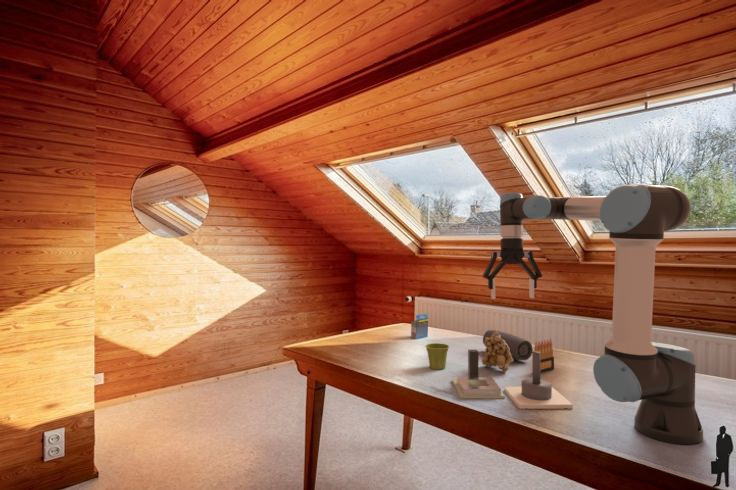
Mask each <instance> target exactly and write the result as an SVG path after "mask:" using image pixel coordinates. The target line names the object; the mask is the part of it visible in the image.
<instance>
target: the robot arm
mask: <svg viewBox="0 0 736 490" xmlns="http://www.w3.org/2000/svg"><path fill="white" fill-rule="evenodd" d="M499 201H500V202H499V212H500V213H499V215H500V217H499V219H500V237H501V238H500V252H497V251H492V252H491V257H490V259H489V261H488V264H487V266H486V268H485V270H484V272H483V274H482V278H483V279H486V280H487V284H488V285H487V288H488V290H490V299H493V300H496V298H497V297H496V296H497V295H496V280H495V278H496V276H497V275H498V273H500V271H501V270H502V269H503V268H504V266H506V265H519V266H520V267H521V268H522V269H523V270H524V271H525V273H526V274H527V275H528V276H529V277H530V278H529V279H528V288H529V289H528V295H529V296H528V298H530V299H535V289H537V286H538V285H537V281H538V279H539V278H542V277H543V274H542V272H541V269H540V268H539V267H538V266H539V265H538V264H537V262H536V260H535V259H534V253H533V251H530V250H527V251H524V239H523V238H522V237H523V236H524V226H523V225H524V224H523V223H524V221H526V220H563V221H565V220H566V221H573V220H574V221H593V222H594V221H597V222H598V221H599V222H601V223H602V224H603V227H604V228H605V229H606V230H607V231H609V233H608V234H609V235H608V236H609V238H608V239H609V240H610V241H611V242H612V243H613V244H614V245H615V251H614V252H615V254H614V255H615V256H614V278H613V301H612V302H613V303H612V322H611V323H612V324H611V338H610V339H608V340H606V341H605V343H604V352H603V353H604V354H602V355H600V356H599V357H598V358H597V359H596V360H594V363H593V368H592V369H593V371H592V372H593V376H594V379H595V382H596V384H597V385H598V387H599V388H600V391H602V392H603V394H605V395H606V396H607V397H608V398H609V399H611V400H613V401H614V402H618V403H635V402H638V401H640V402H639V404H638V408H637V410H636V413H635V415H634V423H633V424H634V428H635V429H636V430H637V431H638V432H639V433H640V434H642V435H645V436H646V437H649V438H652V439H654V440H658V441H661V442H665V443H670V444H674V445H675V444H676V445H697V444H700V443H702V442H703V441H704V428H703V427H702V424H701V423H702V422H701V420H700V417H699V415H698V412H697V410H696V367H697V364H696V357H695V356H696V355H695V353H694V351H693V350H691V349H688V348H685V347H682V346H677V345H674V344H669V343H662V342H654V341H652V331H653V327H652V326H653V309H654V291H655V289H654V288H655V271H656V270H655V269H656V267H655V266H656V248H657V246H659V245H660V243H662V242H663V241H664V239H665V232H669V231H672V230H675V229H677V228H679V227H681V226H682V225H683V224H684V223H685V222H686V221H687V219H688V218H689V216H690V213H691V203H690V200H689V198H688V196H687V195H686V193H684V192H683V191H682V190H680V189H679V188H678V187H677V188H676V187H674V186H670V185H657V184H656V185H653V184H652V185H651V184H642V183H640V184H639V183H637V184H636V183H634V184H623V185H619V186H615V188H613V189H611V190H610V191H609V193H608V194H606V195H602V196H601V195H600V196H599V195H598V196H595V195H594V196H562V197H561V196H558V197H557V196H553V197H551V196H545V195H543V194H542V195H530V196H525V197H523V193H519V192H509V193H503V194H501V196H500V199H499ZM499 257H500V258H501V260H500V261H499V262H498V264H497V265H496V266H495V268H494V265H495V263H496V261H497V259H499ZM524 257H525V258H526V259H527V261H528V263H529V264H530V267H531V268H530V267H529V266H528V265H527V264H526V262H525V261H524V260H523V258H524ZM493 268H494V269H493ZM492 269H493V270H492ZM532 270H533V271H532Z"/></svg>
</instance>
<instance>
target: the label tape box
mask: <svg viewBox="0 0 736 490" xmlns="http://www.w3.org/2000/svg"><path fill="white" fill-rule="evenodd" d="M410 323H411V324H410V327H411V328H410V329H411V330H410V338H411V339H413V340H419V339H423V338H428V336H429V314H428V313H422V314H416V315H415V320H413V321H411V322H410Z"/></svg>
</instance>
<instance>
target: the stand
mask: <svg viewBox="0 0 736 490" xmlns="http://www.w3.org/2000/svg"><path fill="white" fill-rule="evenodd" d="M531 358H532V363H531V364H532V371H531V372H532V378H526V379H522V380H521V386H503V389H504V390H503V391H504V392H505V393H506V395H507V396H509V398H510V399H511V401H513V403H514V404H515V405H516V406H517V408H518V409H522V410H523V409H526V408H527V409H528V410H530V409H533V410H534V409H538V410H539V409H548V410H549V409H552V410H554V409H559V410H560V409H564V408H568V410H569V409H572V410H573V408H574V406H573V405H574V404H572V402H570V400H568V399H567V398H566V397H564V396H563V395H562V394H561V393H560V392H559V391H558V390H557V389H556V388H555V387H553V386H552V383H551V382H549V381H547V380H544V379H541V373H540V352H538V351H534V350H533V352H532V355H531ZM564 410H565V409H564Z"/></svg>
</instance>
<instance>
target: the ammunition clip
mask: <svg viewBox="0 0 736 490" xmlns="http://www.w3.org/2000/svg"><path fill="white" fill-rule="evenodd" d="M533 349H534V350H533V351H538V352H540V374H543V373H547V372H550V370H551V371H554V370H555V356H554V348H553V340H552V338H550V339H547V340H546V339H544V340H541V341H539V340H538V342H537V341H535V343H534V348H533ZM546 371H547V372H546Z"/></svg>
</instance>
